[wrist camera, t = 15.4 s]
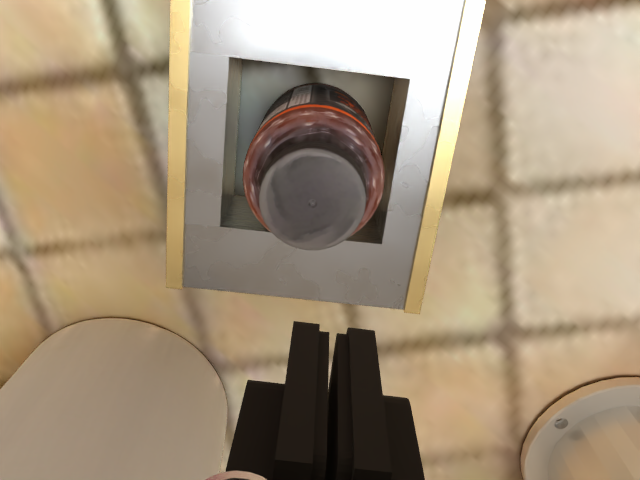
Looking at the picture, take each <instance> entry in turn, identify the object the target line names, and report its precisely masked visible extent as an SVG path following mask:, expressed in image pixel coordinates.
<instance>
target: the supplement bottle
mask: <svg viewBox="0 0 640 480" xmlns="http://www.w3.org/2000/svg"><path fill="white" fill-rule="evenodd" d="M384 175H385V173H384V164H383V159H382V156H381V152H380V149H379V146H378V143H377V141H376V139H375V136H374V134H373V131H372V128H371V125H370V123H369V121H368V118H367V116H366V114H365V112H364V110H363V109H362V108H361V106H360V105H359V104H358V103H357V101H356V100H354V99H353V98H352V97H351V96H350V95H348V94H347V93H345V92H344V91H342V90H340V89H338V88H336V87H333V86H330V85H326V84H317V83H315V84H306V85H301V86H298V87H295V88H293V89H291V90H289V91H287V92H286V93H284V94H283V95H281V96H280V97H279V98H278V99H277V100H276V101H275V103H274V104H273V105H272V106H271V107H270V109H269V110H268V112H267V114H266V115H265V117H264V119H263V121H262V123H261V125H260V127H259V129H258V131H257V133H256V135H255V137H254V139H253V140H252V142H251V144H250V147H249V149H248V152H247V155H246V158H245V162H244V167H243V185H244V192H245V195H246V199H247V201H248V204H249V206H250V208H251V210H252V212H253V213H254V215H255V216H256V218H257V219H258V220H259V221H260V223H261V224H262V225H263V226H264V227H265V228H266V229H268V230H269V231H270V232H272V233H273V234H274V235H275V236H276V237H277V238H278V239H280V240H281V241H282V242H284V243H285V244H287V245H289V246H292V247H295V248H299V249H303V250H322V249H327V248H330V247H333V246H336V245H337V244H339V243H341V242H343V241H344V240H346V239H347V238H348V237H350V236H351V235H353V234H355V233H356V232H357V231H359V230H360V229H361V228H362V227H363V226H364V225H365V224H366V223H367V222H368V221H369V219H370V218H371V217H372V215H373V214H374V212H375V211H376V209H377V207H378V205H379V203H380V200H381V197H382V194H383V188H384Z"/></svg>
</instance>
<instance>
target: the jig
mask: <svg viewBox="0 0 640 480" xmlns="http://www.w3.org/2000/svg"><path fill="white" fill-rule="evenodd" d="M484 6H485V1H482V0H170V62H169V123H168V185H167V246H166V288H173V289H182V288H183V287H191V288H201V289H210V290H220V291H230V292H239V293H249V294H259V295H268V296H278V297H288V298H297V299H307V300H317V301H326V302H336V303H346V304H355V305H365V306H374V307H384V308H394V309H403V310H404V312H405V313H415V314H420V310H421V305H422V300H423V295H424V291H425V286H426V281H427V276H428V272H429V267H430V262H431V258H432V253H433V248H434V243H435V239H436V234H437V229H438V224H439V220H440V215H441V210H442V205H443V201H444V196H445V191H446V186H447V182H448V177H449V172H450V167H451V163H452V158H453V153H454V148H455V144H456V139H457V134H458V129H459V125H460V120H461V115H462V110H463V106H464V101H465V96H466V92H467V87H468V82H469V77H470V73H471V68H472V63H473V58H474V54H475V49H476V44H477V39H478V35H479V30H480V25H481V20H482V16H483V11H484ZM242 59H251V60H259V61H267V62H275V63H284V64H292V65H300V66H308V67H316V68H325V69H333V70H341V71H349V72H357V73H366V74H374V75H382V76H390V77H395V79H394V85H393V91H392V97H391V104H390V110H389V116H388V122H387V128H386V134H385V140H384V147H383V153H382V159H383V164H384V173H385V175H384V188H383V194H382V197H381V200H380V203H379V205H378V207H377V209H376V211H375V212H374V214H373V215H372V217H371V218H370V219H369V221H368V222H367V223H366V224H365V225H364V226H363V227H362V228H361V229H360V230H359V231H357V232H356V233H355V234H353V235H351V236H350V237H348V238H347V239H346V240H344V241H343V242H341V243H339V244H337V245H336V246H333V247H330V248H327V249H322V250H303V249H299V248H295V247H292V246H289V245H287V244H285V243H284V242H282V241H281V240H280V239H278V238H277V237H276V236H275V235H274V234H273V233H272V232H270V231H269V230H268V229H266V228H265V227H264V226H263V225H262V224H261V223H260V221H259V220H258V219H257V218H256V216H255V215H254V213H253V212H252V210H251V208H250V206H249V204H248V201H247V199H246V196H241V195H234V185H235V169H236V153H237V137H238V121H239V106H240V90H241V74H242Z"/></svg>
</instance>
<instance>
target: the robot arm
mask: <svg viewBox="0 0 640 480" xmlns="http://www.w3.org/2000/svg"><path fill="white" fill-rule="evenodd" d="M319 326H320V325H319V324H313V323H304V322H296V321H294V323H293V330H292V337H291V345H290V352H289V359H288V367H287V374H286V381H285V384H279V383H270V382H261V381H252V380H248V381H247V385H246V389H245V393H244V397H243V401H242V405H241V410H240V414H239V418H238V422H237V426H236V430H235V434H234V439H233V443H232V447H231V451H230V455H229V459H228V463H227V468H226V472H221V473H219V474H216V475H214V476H211V477H209V478H207V479H206V480H425V478H424V473H423V468H422V463H421V457H420V452H419V447H418V442H417V437H416V431H415V426H414V421H413V416H412V411H411V405H410V402H409V400H408V399H407V398H402V397H393V396H384V395H383V394H382V386H381V378H380V370H379V362H378V354H377V346H376V338H375V331H373V330H364V329H356V328H348V329H347V333H346V334H339V333H337V336H336V342H335V349H334V355H333V362H332V369H331V376H330V383H329V389H328V365H329V332H321V331H319ZM520 460H521V473H522V476H523V479H524V480H640V377H623V378H615V379H609V380H603V381H599V382H596V383H593V384H590V385H587V386H584V387H582V388H580V389H578V390H576V391H574V392H572V393H570V394H568V395H566V396H564V397H563V398H561V399H560V400H559V401H557V402H556V403H554V404H553V405H551V406H550V407H549V408H548V409H547V410H546V411H545V412H544V413H543V414H542V415H541V416H540V417H539V418H538V419H537V421H536V422H535V424H534V425H533V427H532V428H531V429H530V431H529V433H528V435H527V437H526V439H525V442H524V444H523V448H522V453H521V458H520Z"/></svg>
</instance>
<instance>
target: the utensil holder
mask: <svg viewBox="0 0 640 480" xmlns="http://www.w3.org/2000/svg"><path fill="white" fill-rule="evenodd" d="M227 413H228V408H227V399H226V394H225V391H224V388H223V385H222V382H221V380H220V378H219V376H218V374H217V373H216V371H215V370H214V368H213V367H212V365H211V364H210V363H209V361H208V360H207V359H206V358H205V356H204V355H203V354H202V353H201V352H199V351H198V350H197V349H196V348H195V347H194V346H193V345H192V344H190V343H189V342H188V341H186V340H185V339H183V338H182V337H180V336H178V335H176V334H175V333H172V332H170V331H168V330H166V329H163V328H160V327H158V326H155V325H152V324H149V323H145V322H141V321H137V320H130V319H122V318H103V319H92V320H87V321H82V322H78V323H76V324H73V325H70V326H68V327H65V328H63V329H61V330H59V331H57V332H56V333H54V334H53V335H51V336H50V337H48V338H47V339H46V340H45V341H43V342H42V343H41V344H40V345H39V346H38V347H37V348H36V349H35V350H34V351H33V352H32V353H31V354H30V356H29V357H28V358H27V359H26V360H25V361H24V362H23V364H22V365H21V366H20V367H19V368H18V370H17V371H16V372H15V373H14V374H13V375H12V377H11V378H10V379H9V380H8V381H7V382H6V383H5V385H4V386H3V387H2V388H1V389H0V480H206V479H207V478H209V477H211V476H214V475H216V474H219V473H220V467H221V461H222V454H223V447H224V441H225V434H226V426H227Z"/></svg>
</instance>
